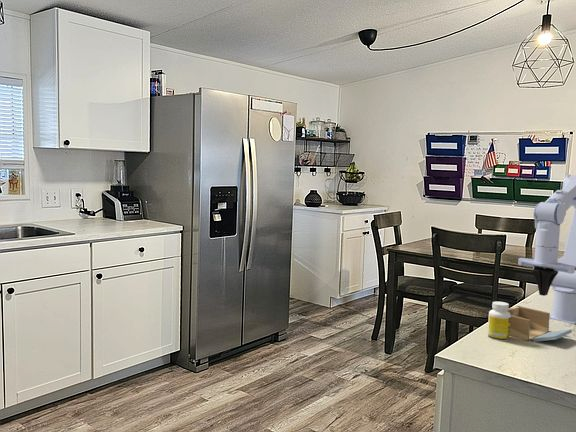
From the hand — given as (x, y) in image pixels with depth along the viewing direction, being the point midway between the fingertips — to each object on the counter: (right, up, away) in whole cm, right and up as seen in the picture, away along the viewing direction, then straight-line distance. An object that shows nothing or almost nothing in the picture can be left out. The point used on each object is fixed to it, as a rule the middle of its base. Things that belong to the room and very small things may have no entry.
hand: (543, 294), depth 145 cm
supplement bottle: (-15, -11, -7) cm, 20 cm away
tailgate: (-4, -10, -6) cm, 12 cm away
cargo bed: (-7, -11, -2) cm, 13 cm away
